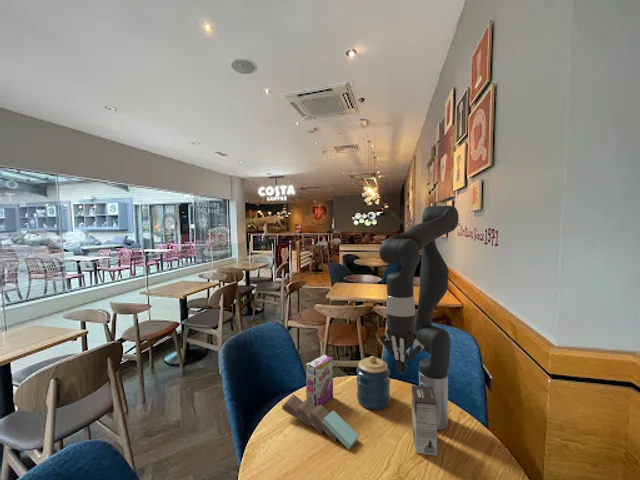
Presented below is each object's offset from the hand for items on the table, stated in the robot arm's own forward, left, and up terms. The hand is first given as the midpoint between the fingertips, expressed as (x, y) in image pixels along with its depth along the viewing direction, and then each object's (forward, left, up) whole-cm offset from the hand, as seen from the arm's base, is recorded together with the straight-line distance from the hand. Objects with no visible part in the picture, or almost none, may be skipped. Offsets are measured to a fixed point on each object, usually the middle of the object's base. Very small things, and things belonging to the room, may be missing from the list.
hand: (401, 372), depth 77 cm
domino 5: (+3, -15, -26) cm, 30 cm away
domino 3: (+4, -26, -26) cm, 37 cm away
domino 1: (+4, -35, -27) cm, 44 cm away
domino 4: (+4, -20, -26) cm, 33 cm away
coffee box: (-12, +1, -27) cm, 30 cm away
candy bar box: (-6, -38, -27) cm, 47 cm away
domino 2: (+5, -32, -26) cm, 41 cm away
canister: (-20, -23, -27) cm, 41 cm away
